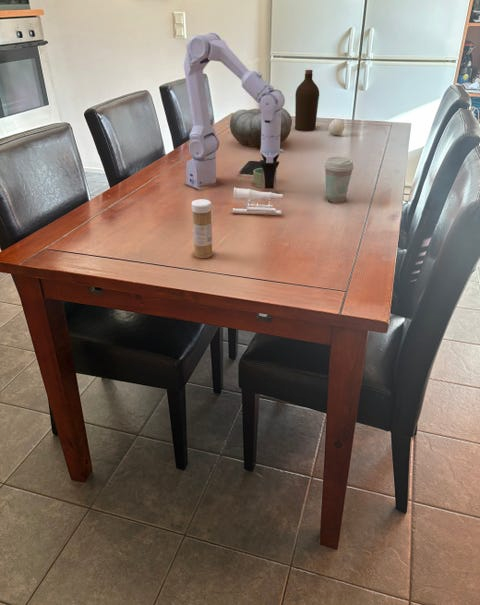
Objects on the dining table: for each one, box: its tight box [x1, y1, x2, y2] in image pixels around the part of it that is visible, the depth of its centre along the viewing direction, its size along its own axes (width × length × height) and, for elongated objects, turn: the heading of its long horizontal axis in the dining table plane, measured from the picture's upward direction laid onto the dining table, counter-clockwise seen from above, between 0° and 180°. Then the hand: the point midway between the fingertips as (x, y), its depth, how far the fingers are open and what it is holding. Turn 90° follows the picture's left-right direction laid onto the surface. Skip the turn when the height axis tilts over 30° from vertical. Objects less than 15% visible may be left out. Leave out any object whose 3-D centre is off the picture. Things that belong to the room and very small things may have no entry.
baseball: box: [328, 118, 345, 136], centre depth 224 cm, size 7×7×7 cm
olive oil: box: [294, 69, 320, 132], centre depth 229 cm, size 11×11×25 cm
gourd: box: [229, 107, 293, 147], centre depth 207 cm, size 25×25×17 cm
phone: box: [239, 160, 262, 176], centre depth 181 cm, size 8×1×15 cm
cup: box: [252, 168, 263, 186], centre depth 167 cm, size 6×6×4 cm
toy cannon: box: [232, 186, 284, 217], centre depth 146 cm, size 8×14×5 cm
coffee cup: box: [323, 156, 355, 204], centre depth 153 cm, size 8×9×12 cm
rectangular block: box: [261, 169, 278, 194], centre depth 158 cm, size 2×4×8 cm, turn 86°
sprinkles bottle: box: [191, 198, 214, 259], centre depth 120 cm, size 5×5×13 cm
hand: (269, 179), depth 158 cm, fingers open, 7 cm apart
